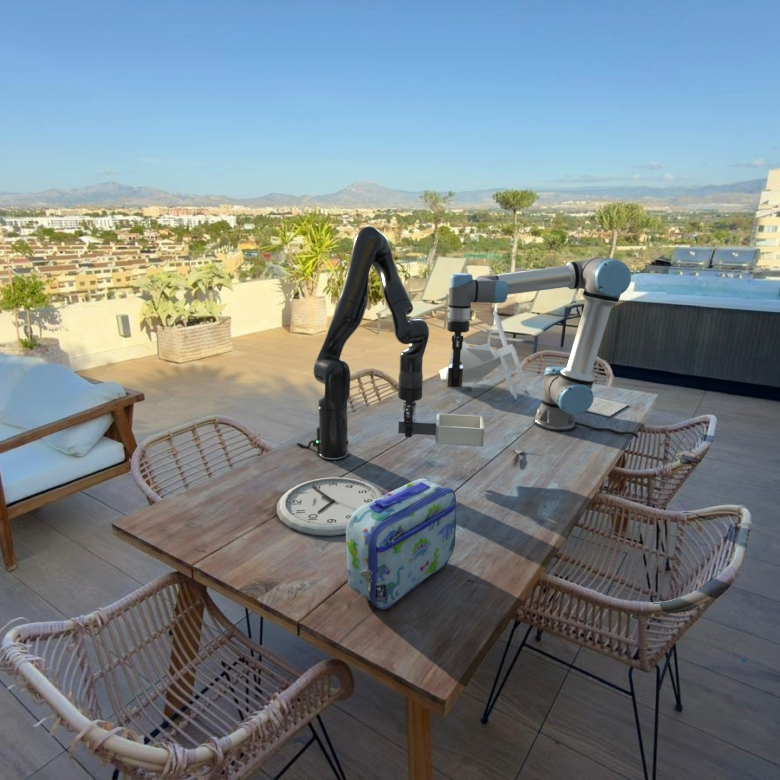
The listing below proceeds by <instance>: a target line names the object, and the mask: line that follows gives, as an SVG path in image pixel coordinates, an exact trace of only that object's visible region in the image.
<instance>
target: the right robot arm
mask: <svg viewBox="0 0 780 780" xmlns="http://www.w3.org/2000/svg"><path fill="white" fill-rule="evenodd" d="M631 273H632V272H631V270H630V268H629V267H628V265H627V264H626V263H625V262H623V261H622V260H619V259H616V258H610V257H602V256H595V257H590V258H586V259H581V260H580V259H579V260H575V261H569V262H567V263H566V265H561V266H553V267H547V268H539V269H538V268H537V269H530V270H524V271H516V272H515V271H514V272H508V273H500V274H494V275H478V276H477V277H475V278H474V277H473V275H472V274H471V273H464V272H462V273H461V272H460V273H459V272H458V273H457V272H456V273H452V274H451V275H450V277H449V285H448V304H447V305H448V306H447V307H448V308H447V309H446V310H445V311H446V313H447V318H448V320H447V321H446V322H447V324H446V330H447V331H448V332H450V333H454V334H451V350H452V349H453V359H452V360H453V362H452V363H453V366H452V368H450V369H452V378H451V387H450V388H458V387H459V374H460V364H462V362H460V353H461V350H462V342H463V340H464V335H462V333H468V332H469V331H470V319H471V304H472V303H475V304H476V303H482V304H483V303H484V304H485V303H486V304H503V303H505V302H506V301H507V299H508V296H509V295H516V294H524V293H530V292H531V293H532V292H539V291H546V290H556V289H562V288H563V289H564V288H567V289H569V290H576V289H579V290H580V289H581V290H583V293H582V297H583V299H584V300H585V302H584V306H583V309H582V313H581V317H580V320H579V323H578V326H577V330H576V333H575V337H574V340H573V344H572V348H571V350H570V354H569V357H568V360H567V363H566V366H548V367H546V368H545V370H544V374H543V381H542V382H543V384H542V394H541V402H540V405H539V407H538V408H537V410H536V413H535V416H534V424H535V425H536V426H537V427H539V428H542V429H544V430H549V431H556V432H567V431H572V430H574V429H575V428H576V425H577V426H580V427H583V428H586V429H590V430H594V431H597V432H598V431H599V432H609V433H610V432H611V433H613V434H616V435H632V436H634V437H635V438H637V439H639V438H640V436H639V435H638V434H637V433H635V432H633V431H618V430H615V429H612V428H608V427H595V426H592V425H589V424H586V423H582V422H578V421H576V418H575V417H576V416H575V415H581V414H583V413H584V412H587V411H586V410H588V409H589V408H590V406H591V405H592V403H593V399H594V397H595V396H594V393H593V391H592V388H593V385H594V381H595V378H594V376H593V374H592V372H593V369H594V366H595V362H596V359H597V356H598V353H599V349H600V347H601V343H602V340H603V336H604V334H605V333H604V332H605V330H606V326H607V323H608V320H609V317H610V314H611V310H612V307H613V306H615V305H617V304H618V303H619V302H620V301H619V300H620V298H621V295H622V294H623V293H625V292H626V291H627V290H628V289H629V287H630V285H631V281H632V274H631Z"/></svg>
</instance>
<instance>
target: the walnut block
mask: <svg viewBox="0 0 780 780" xmlns="http://www.w3.org/2000/svg"><path fill="white" fill-rule="evenodd" d="M448 366H449V369H448V385H447V388H452V387H451V378H452V369H450V368H452V366H453V364H449V363H448ZM462 377H463V365H460V374H459V387H457V388H459V389H462V388H463V383H462Z"/></svg>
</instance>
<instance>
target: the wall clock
mask: <svg viewBox="0 0 780 780" xmlns="http://www.w3.org/2000/svg"><path fill="white" fill-rule="evenodd" d="M384 495H385V494H384V493H383V492H382V491H381V490H380V489H379V488H377V487H376V486H374V485H372V484H371V483H369V482H365V481H362V480H359V479H355V478H349V477H338V476H337V477H335V476H333V477H332V476H331V477H322V478H317V479H312V480H307V481H305V482H302V483H299V484H297V485H295V486H293V487H292V488H290V489H288V490H287V491H286V492H285V493H284V494H283V495H281V496H280V498H279V499H278V502H277V503H276V515H277V517H278V518H279V520H280V521H281V522H282V523H283V524H285V525H286V526H287V527H288V528H290V529H293V530H295V531H297V532H299V533H303V534H308V535H312V536H327V537H328V536H329V537H331V536H332V537H333V536H342V535H346V528H347V524H348V521H349V519H350V517H351V515H352V514H353V513H354V512H355V511H356V510H357V509H358V508H360V507H362V506H364V505H366V504H368V503H370V502H372V501H374V500H376V499H378V498H380V497H382V496H384Z"/></svg>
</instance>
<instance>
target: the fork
mask: <svg viewBox="0 0 780 780" xmlns="http://www.w3.org/2000/svg"><path fill="white" fill-rule="evenodd" d="M524 447H525V444H523V443H521V442H517V443H516V447H515V450H514V452H515V453H516V455H515V456H514V466H516V465H517V462H518V461H519V458H520V454H523V452H524Z"/></svg>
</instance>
